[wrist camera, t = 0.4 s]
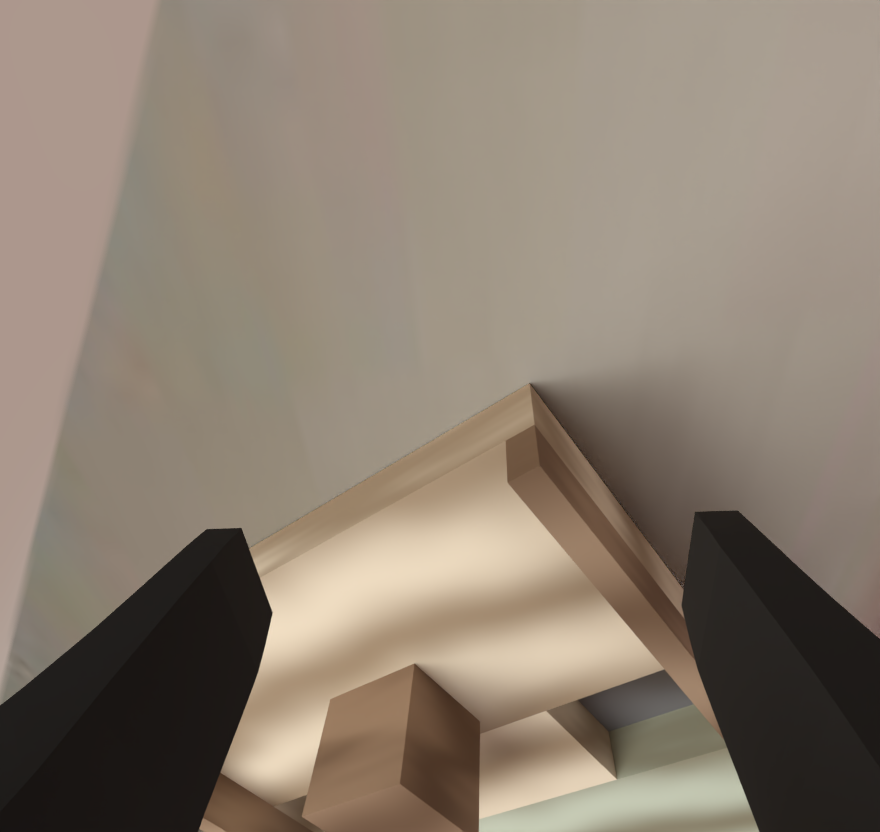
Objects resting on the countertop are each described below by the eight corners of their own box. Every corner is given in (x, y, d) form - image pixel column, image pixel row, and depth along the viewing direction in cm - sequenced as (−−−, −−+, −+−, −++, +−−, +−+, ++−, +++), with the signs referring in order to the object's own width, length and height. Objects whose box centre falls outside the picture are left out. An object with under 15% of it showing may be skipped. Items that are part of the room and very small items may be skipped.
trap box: (835, 793, 30) (892, 914, 26) (457, 885, 39) (453, 987, 35) (529, 383, 19) (541, 477, 15) (95, 639, 28) (24, 744, 24)
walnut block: (480, 721, 25) (478, 842, 21) (397, 751, 27) (382, 869, 23) (414, 663, 23) (399, 783, 19) (330, 699, 25) (301, 816, 21)
